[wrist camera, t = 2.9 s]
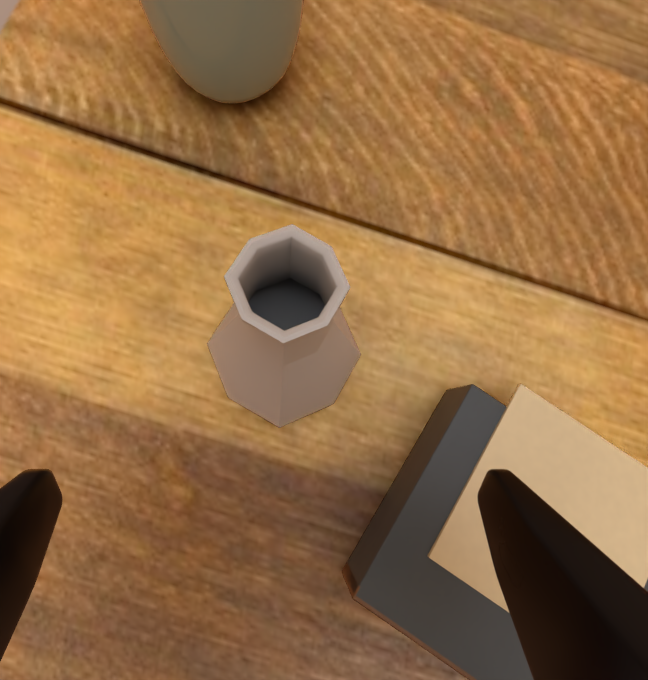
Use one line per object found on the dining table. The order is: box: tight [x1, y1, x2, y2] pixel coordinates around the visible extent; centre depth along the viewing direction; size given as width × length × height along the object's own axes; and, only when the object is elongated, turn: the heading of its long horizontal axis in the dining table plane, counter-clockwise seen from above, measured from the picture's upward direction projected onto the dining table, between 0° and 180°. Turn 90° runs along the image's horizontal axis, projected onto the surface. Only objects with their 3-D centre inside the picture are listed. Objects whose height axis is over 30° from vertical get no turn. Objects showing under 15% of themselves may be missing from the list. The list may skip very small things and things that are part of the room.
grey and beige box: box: [342, 384, 648, 680], centre depth 18 cm, size 11×16×3 cm
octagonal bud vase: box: [207, 224, 361, 428], centre depth 16 cm, size 7×7×10 cm
